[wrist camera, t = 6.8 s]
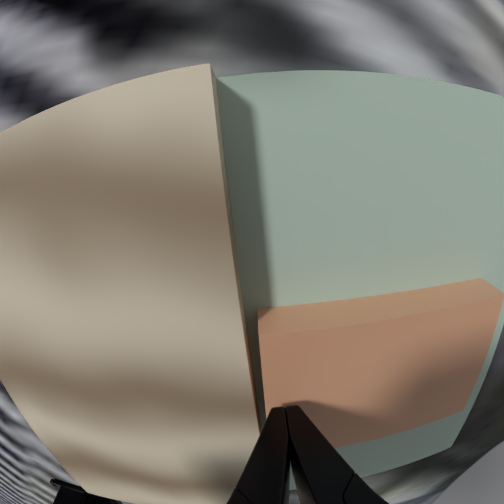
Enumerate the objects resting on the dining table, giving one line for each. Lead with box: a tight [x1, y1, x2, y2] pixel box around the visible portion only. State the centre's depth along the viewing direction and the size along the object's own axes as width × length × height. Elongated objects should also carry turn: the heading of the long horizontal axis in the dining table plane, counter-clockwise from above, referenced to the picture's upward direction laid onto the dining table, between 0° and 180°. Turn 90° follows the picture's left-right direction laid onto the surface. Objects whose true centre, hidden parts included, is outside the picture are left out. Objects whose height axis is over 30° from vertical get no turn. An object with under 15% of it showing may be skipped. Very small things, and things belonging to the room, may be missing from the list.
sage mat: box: [216, 70, 504, 490], centre depth 11 cm, size 20×12×1 cm, turn 6°
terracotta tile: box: [257, 278, 504, 448], centre depth 10 cm, size 6×9×2 cm, turn 95°
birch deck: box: [0, 63, 262, 504], centre depth 10 cm, size 20×12×2 cm, turn 6°
